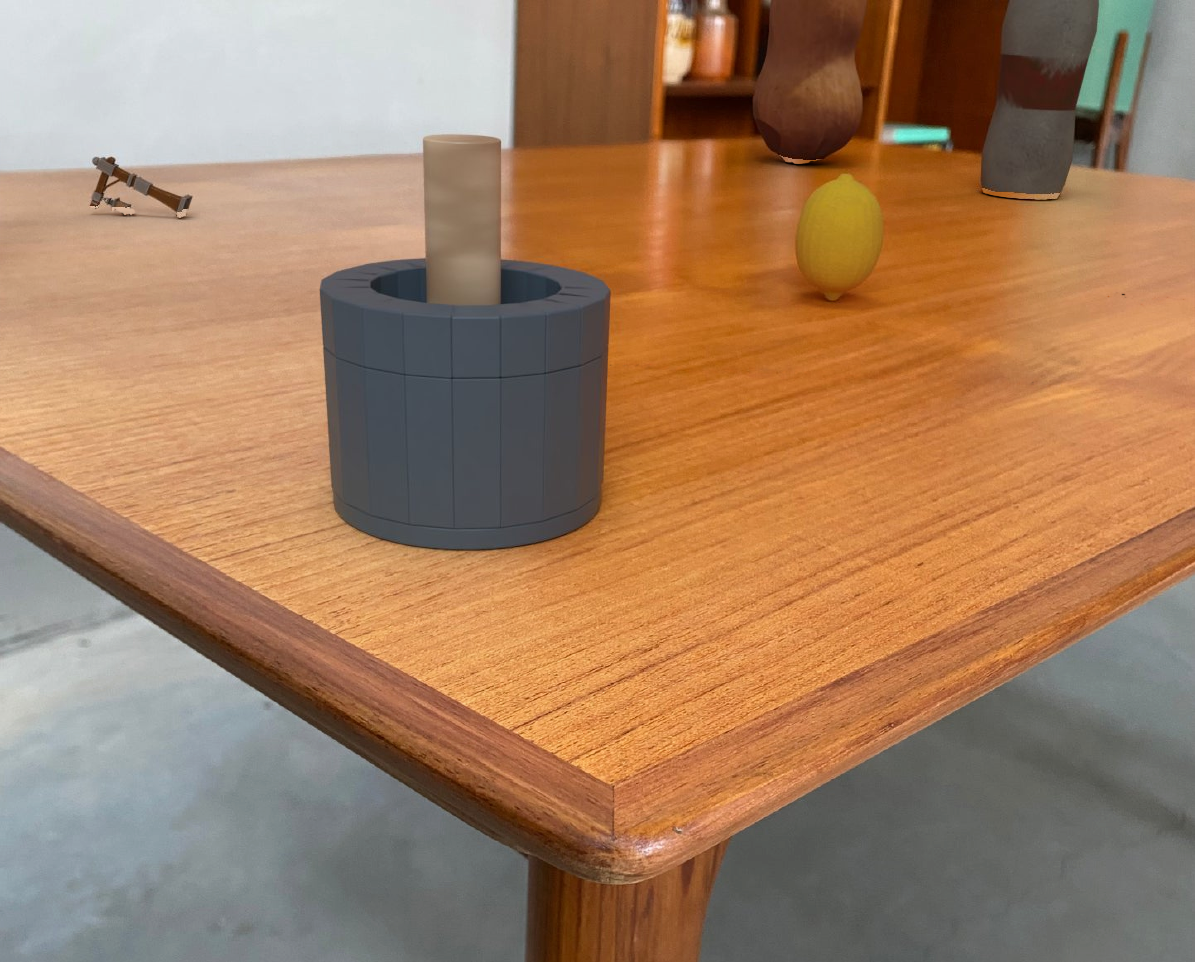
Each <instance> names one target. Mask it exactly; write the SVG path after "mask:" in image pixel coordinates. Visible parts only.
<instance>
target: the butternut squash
mask: <svg viewBox="0 0 1195 962" xmlns="http://www.w3.org/2000/svg"><path fill="white" fill-rule="evenodd" d="M867 3H868V0H770V3H769V19H768V20H769V24H768V26H769V27H768V31H769V32H768V37H767V47H766V56H765V59H764V62H763V65H762V68H761V71H760V73H759V75H758V77H757V81H756V85H755V89H754V94H753V96H752V115H753V118H754V119H753V120H754V121H755V124H756V126H757V129H758V131H759V133H760V135H761V138H762V140H763V142H764V144H765V145H766V147H767V148H768V149H769V150H770V151H771V152H773V153H774V154H776V155H777V156H779V155H781V156H783V157H788V158H792V159H803V160H816V159H823V160H824V159H826V158H827V157H829V156H830V155H832V154H834V153H837V152H838V151H840V150H841V149H843V148H844V147H846V146H847V144H849V143H850V142H851V140H852V139H853V137H854V136H855V134H856V132H858V129H859V127H860V124H861V121H862V118H863V117H862V116H863V92H862V87H861V80H860V78H859V73H858V70H857V65H856V58H855V57H856V51H857V47H858V43H859V40H860V37H861V33H862V29H863V26H864V23H865V17H866V12H867V11H866V10H867Z"/></svg>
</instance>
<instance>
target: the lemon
mask: <svg viewBox="0 0 1195 962" xmlns="http://www.w3.org/2000/svg"><path fill="white" fill-rule="evenodd" d="M802 207H803V208H802V210H801V212H800V216H799V219H798V223H797V226H796V233H795V239H794V243H795V245H794V246H795V247H794V250H795V258H796V259H795V260H796V263H797V266H798V268H799V270H800V273H801V274H802V276H803V277H804V278H805V280H806V281H807V282H808V283H809V284H811V286H814V287H815V288H816V289H818V290H819V291H820V292H821V293H822V295H823V296H824V297H825V298H826V299H827V300H828V301H831V302H833V301H837V300H838V299H839V298H841V297H842V296H843V295H844V294H845V293H846V292H848V291H849V290H852V289H853V290H854V289H855V288H857V287H859V286H861V285H862V284H863V283H864V282H866V280H867V279H868V278H869V277H870V276H871V274H872V273H873V271H874V269H875V268H876V265H877V264H878V261H879V258H880V256H881V252H882V249H883V248H882V247H883V241H884V221H883V220H884V219H883V212H882V209H881V208H882V207H881V204H880V203H879V201H878V198H877V197H876V196H875V194H874V193H873V192H872V190H871V189H870V188H869V187H867V186H866V185H864V184H863V183H862V182H859V181H858V180H856V179H855V177H854V176H853V175H852V174H851V173H847V172H846V173H845V172H844V173H840V174H839V176H837V178H835V179H833V180H830V181H828V182H825V183H823V184H821V185H820V186H819V187H818V188H817V189H815V190H814V191H813V192H812V193H811V194H810V195H809V197H808V198H807V199H806V201H805V203H804V204H803V206H802Z"/></svg>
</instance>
